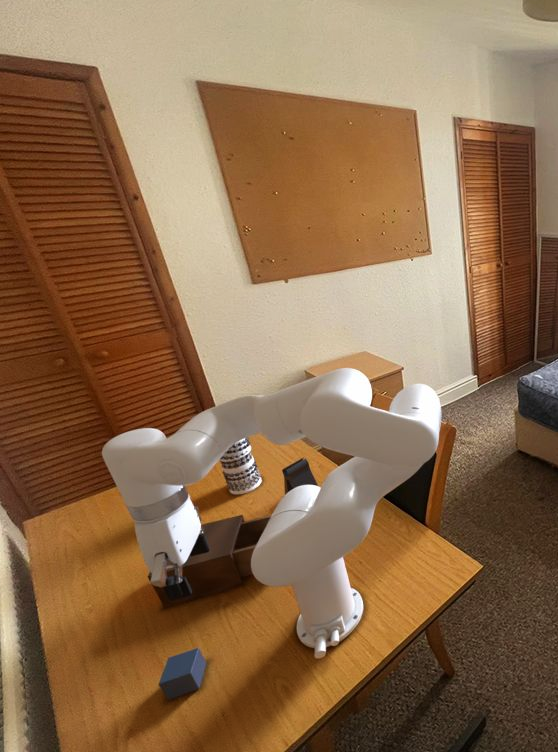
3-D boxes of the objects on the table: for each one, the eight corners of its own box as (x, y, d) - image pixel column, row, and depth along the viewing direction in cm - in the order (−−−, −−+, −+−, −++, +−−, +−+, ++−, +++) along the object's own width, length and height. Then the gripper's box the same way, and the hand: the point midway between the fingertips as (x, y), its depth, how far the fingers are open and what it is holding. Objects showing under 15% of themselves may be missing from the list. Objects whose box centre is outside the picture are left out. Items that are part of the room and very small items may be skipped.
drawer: (310, 527, 105) (303, 504, 101) (307, 561, 95) (300, 536, 92) (232, 548, 99) (222, 524, 96) (220, 586, 89) (209, 561, 86)
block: (199, 689, 71) (190, 673, 70) (167, 700, 70) (158, 684, 68) (206, 663, 75) (198, 647, 73) (177, 673, 74) (168, 657, 72)
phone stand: (323, 496, 117) (314, 462, 112) (304, 509, 112) (294, 474, 107) (304, 486, 121) (295, 453, 116) (285, 498, 116) (274, 464, 111)
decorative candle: (251, 495, 117) (225, 421, 108) (220, 495, 118) (192, 421, 108) (269, 475, 126) (247, 405, 116) (240, 475, 126) (215, 405, 116)
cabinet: (253, 543, 101) (242, 514, 97) (243, 585, 90) (230, 554, 86) (183, 562, 96) (169, 532, 92) (164, 608, 85) (147, 576, 82)
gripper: (154, 473, 73) (184, 543, 80) (101, 545, 58) (144, 624, 65) (202, 465, 75) (228, 533, 82) (164, 532, 60) (199, 609, 67)
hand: (191, 573), depth 73 cm, fingers open, 9 cm apart
